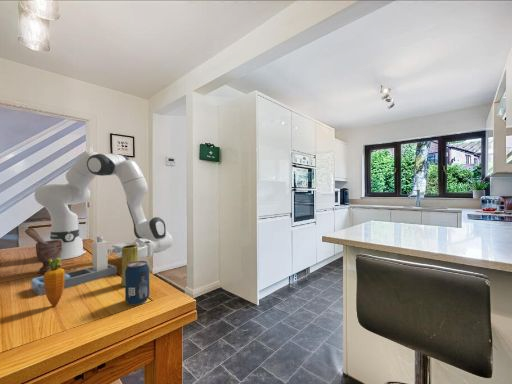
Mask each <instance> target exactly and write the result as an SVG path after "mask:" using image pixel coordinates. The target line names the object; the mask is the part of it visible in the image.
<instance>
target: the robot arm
mask: <svg viewBox="0 0 512 384" xmlns="http://www.w3.org/2000/svg"><path fill="white" fill-rule="evenodd" d="M96 176H100V177H103V176H116V177H118V179H119V181H120V183H121V186H122V188H123V191H124V194H125V198H126V199H125V200H126V204H127V207H128V211H129V215H130V217H131V219H132V224H133V233H134V236H135V237H136V239H135V240H134V242H120V243H114V244H113V245H112V247H111V248H107V249H108V255H110V254H111V255H112V254H113V253H114V254H115V257H116V258H122V247H123V246H127V245H137V246H138V259H143V258H150V257H152V256H153V254H159V253H162V252H164V251H167V250H169V249H170V248H172V245H173V242H174V239H173V236H172V235H171V234H170V232H169V231H168V230H167V227H166V223H165V221H164V220H163V219H162V218H161V217H158V216H157V217H156V216H155V217H152V218H148V220H147V218H146V215H145V212H144V210H143V209H144V208H143V207H142V202H143V200H144V198H145V196H146V195H147V193H148V191H149V187H148V183H147V180H146V178H145V176H144V174H143V171H142V170H141V168H140V167H139V164H138V163H137V162H136V161H134V160H133V159H132V160H131V159H130V158H129V157H127V156H126V155H123V154H120V153H110V152H109V153H99V152H96V151H93V150H88V151H86V152H84V153H82V155H80V157H79V158H77V159H76V160H75V162H74V163H73V164H72V165H71V167H70V168H69V169H68V170H67V171H66V173H65V178H66V181H67V182H68V183H66V184H57V183H56V184H55V183H54V184H53V183H51V184H45V185H40V186H38V187H37V188H36V190H35V191H34V200H35V201H36V203H38V204H39V205H41V206H42V207H44V208H45V209H46V210H47V212H48V214H49V216H50V222H51V231H50V234H49V241H51V240H61V242H62V246H61V247H62V251H61V255H60V259H62V260H61V261H63V260H68V259H72V258H77V257H80V256H82V255H83V254H86V253H87V250H84V248H83V247H84V246H83V244H84V243H83V239H82V238H81V237H80V229H79V216H78V215H77V213H76V212H73V211H71V210H70V208H69V205H81V204H84V203H87V202H88V201H89V200H90V199H91V191H90V189H89V186H90V184H91V182H92V181H93V180H94V178H96Z"/></svg>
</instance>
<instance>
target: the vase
mask: <svg viewBox="0 0 512 384" xmlns="http://www.w3.org/2000/svg"><path fill="white" fill-rule="evenodd" d="M136 261H139V258H138V246H137V245H127V246H123V247H122V257H121V283H120V286H122V287H124V288H125V270H126V268H127V265H128V264H129V263H132V262H136Z"/></svg>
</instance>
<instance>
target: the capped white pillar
mask: <svg viewBox="0 0 512 384" xmlns="http://www.w3.org/2000/svg"><path fill="white" fill-rule="evenodd" d="M108 249H109V248H108V241H106V240H104V236H96V241H92V267H93V271H94V272H95V271H99V270H103V269H107V268H108V264H109V263H108V255H109V254H108Z"/></svg>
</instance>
